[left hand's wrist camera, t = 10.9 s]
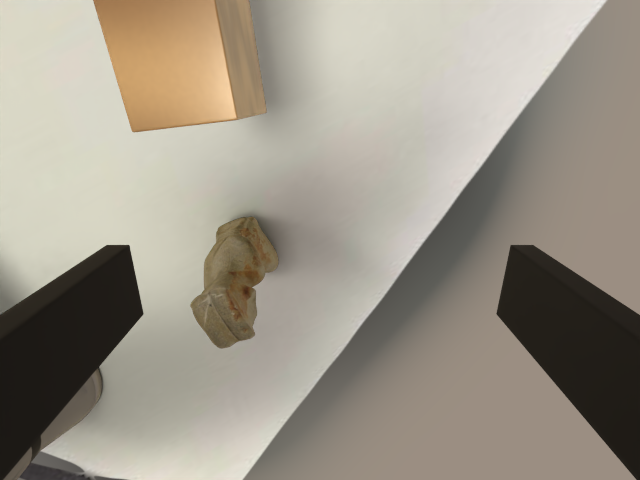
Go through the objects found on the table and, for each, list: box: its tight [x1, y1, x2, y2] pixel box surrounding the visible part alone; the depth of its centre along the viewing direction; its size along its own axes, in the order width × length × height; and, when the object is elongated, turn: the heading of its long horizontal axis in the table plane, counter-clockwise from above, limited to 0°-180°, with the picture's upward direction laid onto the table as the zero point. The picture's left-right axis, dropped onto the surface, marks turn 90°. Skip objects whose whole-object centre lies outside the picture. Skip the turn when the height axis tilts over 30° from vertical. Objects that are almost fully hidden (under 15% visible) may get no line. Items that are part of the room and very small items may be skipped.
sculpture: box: [191, 217, 278, 348], centre depth 33 cm, size 6×7×15 cm
